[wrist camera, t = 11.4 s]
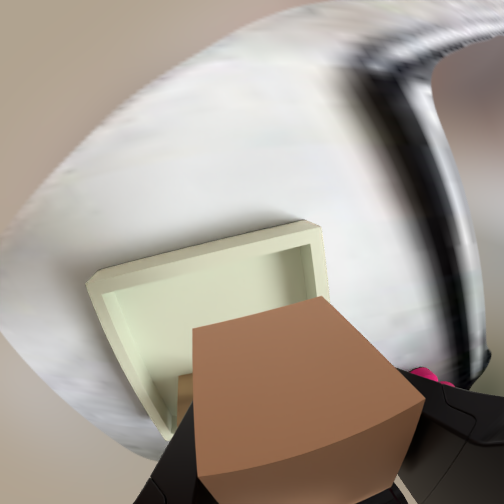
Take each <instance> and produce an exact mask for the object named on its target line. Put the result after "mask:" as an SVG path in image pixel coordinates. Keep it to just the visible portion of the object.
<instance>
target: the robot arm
mask: <svg viewBox="0 0 504 504" xmlns="http://www.w3.org/2000/svg"><path fill="white" fill-rule="evenodd" d="M395 368H396V367H395ZM396 369H397V370H398V371H399V372H400V373H401V374H402V375H403V376H404V377H405V378H406V379H407V380H408V381H409V382H410V383H411V384H412V385H413V386H414V387H415V388H416V389H417V390H418V391H419V392H420V393H421V394H422V395H423V396H424V397H425V398H426V399H425V402H424V405H423V409H422V412H421V415H420V418H419V421H418V424H417V427H416V430H415V432H414V435H413V438H412V440H411V443H410V446H409V448H408V451H407V453H406V455H405V458H404V460H403V462H402V465H401V467H400V469H399V471H398V476H399V477H400V479H401V480H402V481H403V483H404V484H405V486H406V487H407V489H408V490H409V492H410V493H411V495H412V496H413V498H414V499H415V500H416V502H417V503H418V504H504V397H501V396H495V395H488V394H482V393H477V392H472V391H468V390H464V389H460V388H457V387H453V386H450V385H447V384H441V383H440V382H437V381H434V380H431V379H428V378H425V377H422V376H419V375H416V374H413V373H410V372H407V371H404V370H401V369H398V368H396ZM150 477H151V478H149V479H148V481H147V482H146V484H145V486H144V488H143V489H142V491H141V492H140V494H139V496H138V497H137V499H136V500H135V502H134V503H133V504H219V503H218V502H217V500H216V499H215V498H214V497H213V496H212V494H211V493H210V492H209V491H208V489H207V488H206V487H205V486H204V484H203V483H202V482H201V480H200V479H199V478H198V474H197V461H196V446H195V429H194V407H193V401H192V402H191V404H190V406H189V408H188V410H187V411H186V413H185V415H184V417H183V419H182V420H181V422H180V424H179V426H178V428H177V430H176V431H175V433H174V435H173V437H172V438H171V440H170V442H169V444H168V446H167V447H166V449H165V451H164V453H163V455H162V456H161V458H160V460H159V462H158V463H157V465H156V467H155V469H154V471H153V472H152V474H151V476H150ZM356 504H408V502H407V500H406V499H405V497H404V495H403V494H402V492H401V491H400V490H399V488H398V487H397V486H396V484H395V483H394V482H393V484H392V486H391V487H389V488H387V489H386V490H384V491H382V492H380V493H377V494H375V495H373V496H371V497H369V498H367V499H365V500H362V501H360V502H358V503H356Z"/></svg>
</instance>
